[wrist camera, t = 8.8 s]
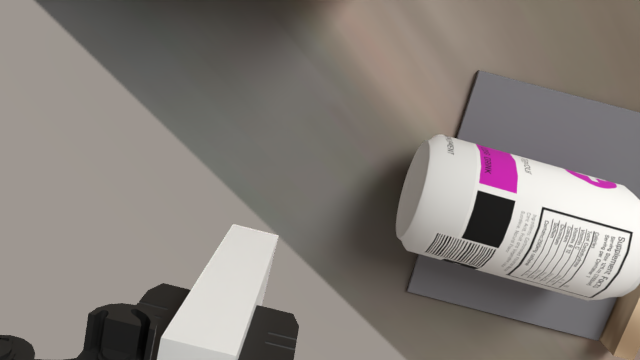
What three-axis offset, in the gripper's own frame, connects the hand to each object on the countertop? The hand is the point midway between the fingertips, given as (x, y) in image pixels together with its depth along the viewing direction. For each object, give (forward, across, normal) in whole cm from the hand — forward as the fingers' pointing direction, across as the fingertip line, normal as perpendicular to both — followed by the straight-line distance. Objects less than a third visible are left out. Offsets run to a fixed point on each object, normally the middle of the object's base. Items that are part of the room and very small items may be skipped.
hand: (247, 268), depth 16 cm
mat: (+23, +19, -1) cm, 30 cm away
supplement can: (+19, +8, 0) cm, 20 cm away
